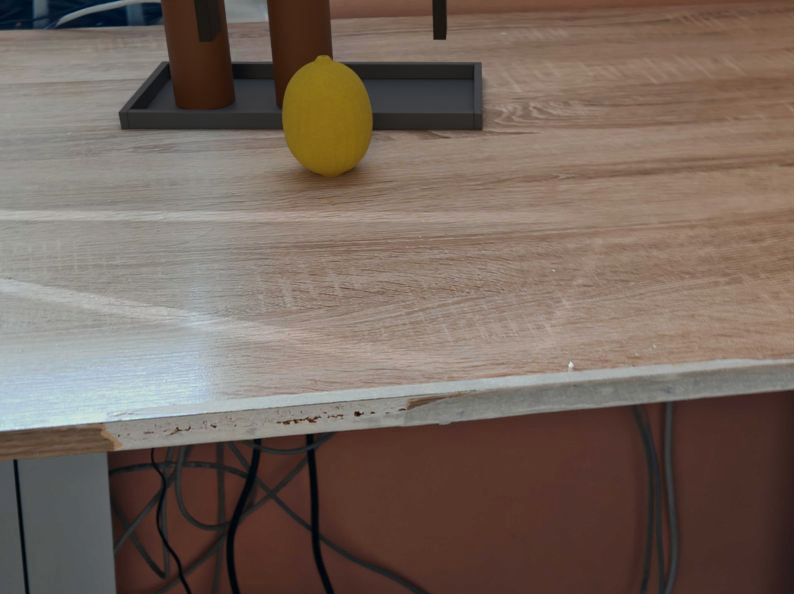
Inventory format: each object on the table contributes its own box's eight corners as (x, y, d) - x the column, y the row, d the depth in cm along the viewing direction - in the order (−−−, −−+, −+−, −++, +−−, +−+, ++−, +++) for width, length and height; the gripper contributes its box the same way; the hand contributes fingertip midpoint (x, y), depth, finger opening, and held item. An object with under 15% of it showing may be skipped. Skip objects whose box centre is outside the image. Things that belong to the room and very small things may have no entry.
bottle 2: (271, 110, 79) (253, -76, 72) (281, 91, 82) (264, -88, 76) (332, 110, 79) (319, -76, 72) (338, 91, 82) (327, -87, 76)
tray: (122, 136, 76) (118, 112, 75) (165, 83, 86) (161, 61, 85) (482, 137, 76) (482, 112, 75) (481, 84, 86) (481, 61, 85)
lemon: (272, 191, 67) (260, 64, 63) (311, 160, 72) (301, 39, 68) (354, 202, 66) (346, 73, 62) (388, 170, 70) (383, 47, 66)
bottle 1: (168, 110, 79) (141, -76, 72) (182, 91, 82) (158, -88, 76) (229, 110, 79) (207, -76, 72) (240, 91, 82) (220, -88, 76)
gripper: (10, -405, 50) (96, 54, 61) (551, -412, 50) (539, 50, 61) (64, -393, 56) (132, 20, 67) (542, -399, 56) (533, 17, 67)
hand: (325, 35), depth 64 cm, fingers open, 13 cm apart
